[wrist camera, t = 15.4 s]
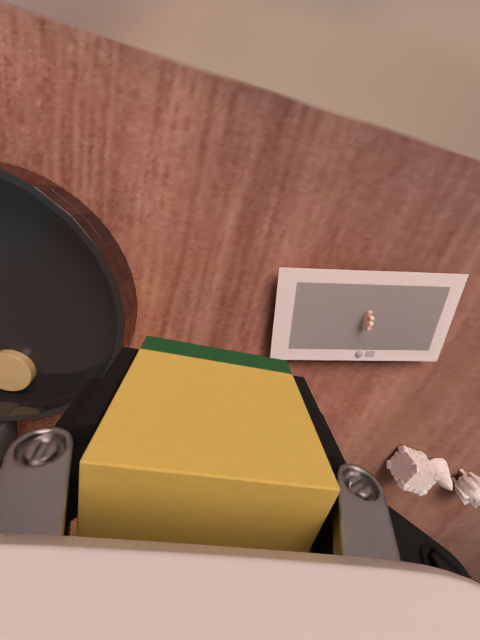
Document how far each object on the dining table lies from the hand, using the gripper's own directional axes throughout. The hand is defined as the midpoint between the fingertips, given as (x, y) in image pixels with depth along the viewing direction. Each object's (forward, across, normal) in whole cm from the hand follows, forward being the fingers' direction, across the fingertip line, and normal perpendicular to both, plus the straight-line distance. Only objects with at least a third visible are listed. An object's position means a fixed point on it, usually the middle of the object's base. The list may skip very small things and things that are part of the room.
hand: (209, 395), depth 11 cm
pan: (+12, +15, +3) cm, 20 cm away
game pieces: (+13, -28, +15) cm, 34 cm away
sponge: (0, 0, 0) cm, 1 cm away
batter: (+12, +15, +9) cm, 21 cm away
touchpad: (+13, -12, -1) cm, 18 cm away
